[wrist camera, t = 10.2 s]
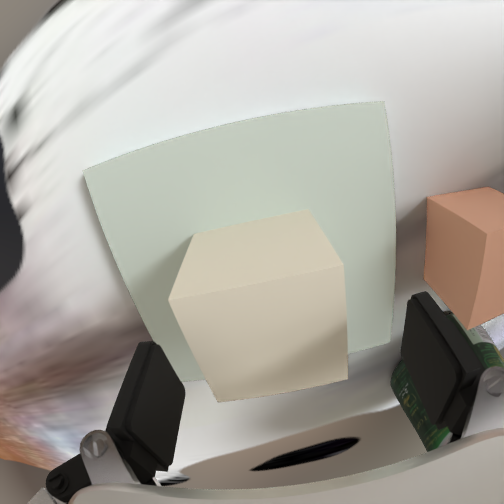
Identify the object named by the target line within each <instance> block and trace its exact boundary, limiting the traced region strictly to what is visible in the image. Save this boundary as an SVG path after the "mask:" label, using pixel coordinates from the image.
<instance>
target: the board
mask: <svg viewBox="0 0 504 504" xmlns="http://www.w3.org/2000/svg"><path fill="white" fill-rule="evenodd" d="M83 174H84V177H85V180H86V184H87V187H88V190H89V193H90V196H91V199H92V202H93V205H94V207H95V210H96V213H97V216H98V219H99V221H100V224H101V227H102V229H103V232H104V235H105V237H106V240H107V242H108V245H109V247H110V250H111V252H112V255H113V257H114V259H115V262H116V264H117V266H118V269H119V271H120V273H121V276H122V278H123V280H124V282H125V284H126V287H127V289H128V291H129V293H130V295H131V297H132V300H133V302H134V304H135V306H136V308H137V310H138V312H139V314H140V316H141V318H142V320H143V322H144V324H145V326H146V328H147V330H148V332H149V334H150V335H151V337H152V339H153V341H154V342H156V344H159V345H160V346H161V347H162V349H163V351H164V353H165V355H166V357H167V358H168V360H169V362H170V364H171V365H172V367H173V369H174V371H175V372H176V374H177V376H178V377H179V379H180V381H181V382H185V381H196V380H206V379H205V377H204V375H203V373H202V371H201V369H200V367H199V365H198V363H197V361H196V359H195V357H194V355H193V353H192V351H191V349H190V347H189V345H188V343H187V341H186V339H185V337H184V335H183V332H182V330H181V328H180V326H179V324H178V322H177V319H176V317H175V315H174V313H173V310H172V308H171V306H170V304H169V301H168V299H169V296H170V293H171V291H172V288H173V285H174V283H175V280H176V278H177V275H178V272H179V270H180V267H181V265H182V262H183V260H184V257H185V255H186V252H187V250H188V247H189V245H190V242H191V240H192V237H193V235H194V234H196V233H200V232H204V231H209V230H213V229H218V228H222V227H226V226H231V225H235V224H240V223H245V222H249V221H254V220H258V219H263V218H268V217H272V216H277V215H282V214H287V213H292V212H296V211H301V210H306V209H309V211H310V212H311V214H312V215H313V217H314V218H315V220H316V221H317V223H318V224H319V226H320V228H321V229H322V231H323V232H324V234H325V235H326V237H327V239H328V240H329V242H330V243H331V245H332V247H333V248H334V250H335V251H336V253H337V255H338V256H339V258H340V259H341V261H342V263H343V264H344V276H345V291H346V310H347V337H348V354H351V353H354V352H358V351H362V350H366V349H369V348H373V347H376V346H380V345H383V344H387V343H390V340H391V330H392V320H393V308H394V294H395V272H396V212H395V191H394V177H393V165H392V154H391V145H390V137H389V129H388V122H387V116H386V109H385V103H384V101H380V102H365V103H353V104H343V105H334V106H325V107H318V108H310V109H303V110H297V111H290V112H284V113H279V114H273V115H268V116H262V117H257V118H252V119H248V120H243V121H238V122H234V123H230V124H225V125H221V126H217V127H213V128H209V129H205V130H201V131H198V132H194V133H190V134H187V135H183V136H180V137H176V138H173V139H170V140H166V141H163V142H160V143H157V144H153V145H150V146H147V147H144V148H141V149H138V150H135V151H133V152H130V153H127V154H124V155H121V156H119V157H116V158H113V159H111V160H108V161H105V162H103V163H100V164H98V165H95V166H93V167H90V168H88V169H85V170H83Z"/></svg>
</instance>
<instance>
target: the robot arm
mask: <svg viewBox="0 0 504 504" xmlns="http://www.w3.org/2000/svg"><path fill="white" fill-rule="evenodd" d="M401 356H402V359H403V361H404V363H405V365H406V368H407V370H408V372H409V374H410V376H411V378H412V381H413V383H414V385H415V387H416V389H417V392H418V394H419V396H420V399H421V401H422V403H423V406H424V408H425V410H426V413H427V415H428V417H429V420H430V422H431V424H432V425H435V424H436V427H437V429H438V430H440V429H443V428H445V427H447V426H448V429H449V431H450V432H451V434H450V437H449V440H448V442H447V445H444V446H442V447H439V448H437V449H434V450H432V451H429V452H427V453H424V454H421V455H418V456H415V457H413V458H409V459H406V460H404V461H401V462H397V463H394V464H391V465H388V466H385V467H381V468H378V469H374V470H370V471H366V472H362V473H359V474H354V475H350V476H345V477H340V478H335V479H330V480H326V481H319V482H314V483H307V484H300V485H292V486H283V487H272V488H259V489H233V490H213V489H208V490H207V489H188V488H173V487H161V485H160V484H159V482H158V481H157V479H156V478H155V473H156V471H166V472H168V467H169V465H171V464H172V463H173V458H174V452H175V447H176V441H177V436H178V430H179V425H180V420H181V415H182V409H183V404H184V399H185V388H184V386H183V384H182V382H181V381H180V379H179V377H178V376H177V374H176V372H175V371H174V369H173V367H172V365H171V364H170V362H169V360H168V358H167V357H166V355H165V353H164V351H163V349H162V347H161V346H160V345H159V344H156V342H154V341H149V342H140V343H139V344H138V346H137V349H136V351H135V354H134V356H133V358H132V361H131V363H130V366H129V368H128V371H127V373H126V376H125V378H124V381H123V384H122V386H121V389H120V391H119V394H118V397H117V399H116V402H115V405H114V407H113V410H112V413H111V416H110V418H109V421H108V424H107V428H106V431H103V430H94V431H91V432H89V433H88V434H87V435H85V437H84V438H83V439H82V441H81V443H80V454H78V455H77V456H75V457H73V458H72V459H70V460H68V461H67V462H65V463H63V464H62V465H60V466H58V467H57V468H55V469H53V470H52V471H51V472H50V473H49V474H48V476H47V479H46V489H44V488H41V490H40V491H39V492H38V493H37V494H36V495H35V496H34V497H33V498H32V499H31V500H30V501H29V502H28V503H27V504H504V368H502V367H497V366H494V367H490V368H488V369H486V370H485V368H484V367H483V365H482V364H481V362H480V361H479V359H478V357H477V356H476V354H475V353H474V351H473V350H472V348H471V347H470V346H469V344H468V343H467V341H466V340H465V338H464V337H463V335H462V334H461V333H460V331H459V330H458V328H457V327H456V326H455V324H454V323H453V322H452V321H451V320H448V318H447V317H446V316H445V314H444V313H443V312H442V310H441V309H440V308H439V306H438V305H437V304H436V302H435V301H434V300H433V298H432V297H431V296H430V295H429V293H428V292H426V291H425V292H422V293H418V294H414V295H412V297H411V300H408V302H407V310H406V318H405V326H404V333H403V340H402V346H401Z"/></svg>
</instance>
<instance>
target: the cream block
mask: <svg viewBox="0 0 504 504" xmlns="http://www.w3.org/2000/svg"><path fill="white" fill-rule="evenodd" d="M168 301H169V304H170V306H171V308H172V310H173V313H174V315H175V317H176V319H177V322H178V324H179V326H180V328H181V330H182V332H183V335H184V337H185V339H186V341H187V343H188V345H189V347H190V349H191V351H192V353H193V355H194V357H195V359H196V361H197V363H198V365H199V367H200V369H201V371H202V373H203V375H204V377H205V379H206V381H207V383H208V385H209V387H210V389H211V390H212V392H213V394H214V396H215V398H216V400H217V402H226V401H235V400H243V399H250V398H257V397H264V396H270V395H276V394H282V393H287V392H293V391H298V390H303V389H308V388H313V387H317V386H322V385H326V384H330V383H334V382H339V381H343V380H346V379H348V337H347V310H346V291H345V276H344V264H343V263H342V261H341V259H340V258H339V256H338V255H337V253H336V251H335V250H334V248H333V247H332V245H331V243H330V242H329V240H328V239H327V237H326V235H325V234H324V232H323V231H322V229H321V228H320V226H319V224H318V223H317V221H316V220H315V218H314V217H313V215H312V214H311V212H310V211H309V209H306V210H301V211H296V212H292V213H287V214H282V215H277V216H272V217H268V218H263V219H258V220H254V221H249V222H245V223H240V224H235V225H231V226H226V227H222V228H218V229H213V230H209V231H204V232H200V233H196V234H194V235H193V237H192V240H191V242H190V245H189V247H188V250H187V252H186V255H185V257H184V260H183V262H182V265H181V267H180V270H179V272H178V275H177V278H176V280H175V283H174V285H173V288H172V291H171V293H170V296H169V299H168Z"/></svg>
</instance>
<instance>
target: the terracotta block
mask: <svg viewBox="0 0 504 504" xmlns="http://www.w3.org/2000/svg"><path fill="white" fill-rule="evenodd" d="M423 279H424V280H425V281H426V282H427V283H428V285H429V286H430V287H431V288H432V289H433V290H434V291H435V292H436V294H437V295H438V296H439V297H440V298H441V299H442V300H443V302H444V303H445V304H446V305H447V306H448V308H449V309H450V310H451V311H452V312H453V313H454V315H455V316H456V317H457V318H458V320H459V321H460V322H461V323H462V324H463V326H464V327H465V328H466V329H467V330H469V329H471V328H474V327H476V326H478V325H480V324H483V323H485V322H487V321H489V320H491V319H493V318H495V317H497V316H499V315H501V314H504V194H503V193H501V192H499V191H497V190H495V189H493V188H490V187H483V188H477V189H471V190H465V191H459V192H453V193H447V194H441V195H436V196H430V197H427V226H426V250H425V265H424V277H423Z"/></svg>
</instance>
